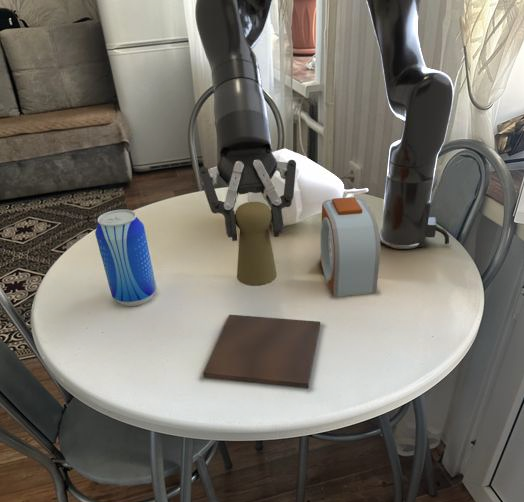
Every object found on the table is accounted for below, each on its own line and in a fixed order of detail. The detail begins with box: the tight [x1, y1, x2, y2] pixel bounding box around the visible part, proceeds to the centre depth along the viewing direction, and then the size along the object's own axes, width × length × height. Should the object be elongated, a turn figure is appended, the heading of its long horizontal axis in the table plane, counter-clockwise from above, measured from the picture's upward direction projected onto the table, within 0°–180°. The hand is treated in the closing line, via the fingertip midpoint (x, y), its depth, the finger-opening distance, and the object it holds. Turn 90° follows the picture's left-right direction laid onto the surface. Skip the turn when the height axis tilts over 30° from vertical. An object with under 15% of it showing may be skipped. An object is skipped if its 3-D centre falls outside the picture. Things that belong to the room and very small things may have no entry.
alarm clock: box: [319, 196, 381, 298], centre depth 95 cm, size 15×8×14 cm, turn 5°
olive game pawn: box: [235, 201, 278, 287], centre depth 72 cm, size 6×6×11 cm
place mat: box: [202, 314, 321, 389], centre depth 81 cm, size 16×16×1 cm
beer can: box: [94, 209, 157, 307], centre depth 91 cm, size 8×8×16 cm
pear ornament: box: [246, 147, 369, 227], centre depth 117 cm, size 16×22×28 cm
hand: (255, 236), depth 69 cm, fingers closed on olive game pawn, 5 cm apart
